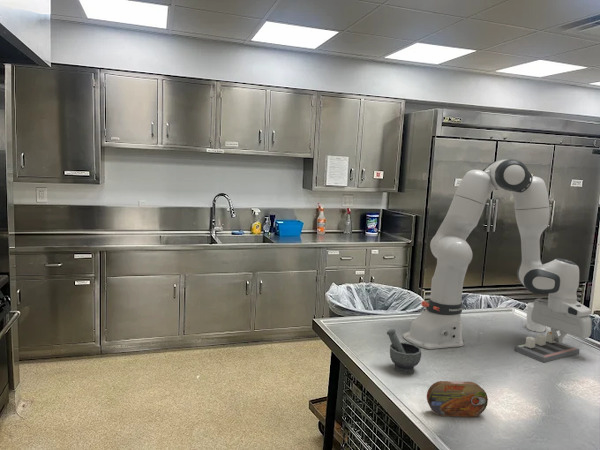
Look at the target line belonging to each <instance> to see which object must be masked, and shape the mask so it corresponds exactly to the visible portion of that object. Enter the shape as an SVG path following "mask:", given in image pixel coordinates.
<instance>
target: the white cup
mask: <svg viewBox="0 0 600 450" xmlns="http://www.w3.org/2000/svg"><path fill="white" fill-rule="evenodd" d="M526 304H527V305H526V309H527V310H526V325H525V326H526V329H527V330H529V331H532V332H537V333H544V332H545V331H546V328H547V326H544V325H541V324H538V323H535V322H533V321H532V320H531V314H532V310H533V307H534V302H528V303H526Z"/></svg>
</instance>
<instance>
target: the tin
mask: <svg viewBox="0 0 600 450" xmlns="http://www.w3.org/2000/svg"><path fill="white" fill-rule="evenodd" d="M427 389H428V390H427V391H426V392H427V393H426V400H427V404H428V405H429V408H430V409H431V411H432V412H433V413H434V414H436V415H437V416H440V417H461V418H463V417H466V418H467V417H469V418H473V417H477V416H479V415H481V414H482V413H484V411H485V410H486V408H487V406H488V402H489V398H488V395H487V392H486V391H485V389H484V388H483V387H481V386H480V385H479V384H478V383H476V382H473V381H461V380H458V381H456V380H455V381H453V380H440V381H436V382H434V383H432V384H431V385H430V386H429V388H427Z"/></svg>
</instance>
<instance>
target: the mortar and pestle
mask: <svg viewBox="0 0 600 450" xmlns="http://www.w3.org/2000/svg"><path fill="white" fill-rule="evenodd" d="M386 334H387V336H388V337H389V340H390V346H389V356H390V360H391V361H392V363H393V364H394V366H393V368H394V371H396V372H397V373H398V374H399V373H400V374H404V375H410V374H412V373H415V367H416V366H417V365H418V364H419V363H420V361H421V359H422V347H419V346H417V345H415V344H413V343H410V342H401V341H400V339H399V337H398V335H397V333H396V329H394V328H393V329H392V328H391V329H389V330H387V332H386Z"/></svg>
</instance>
